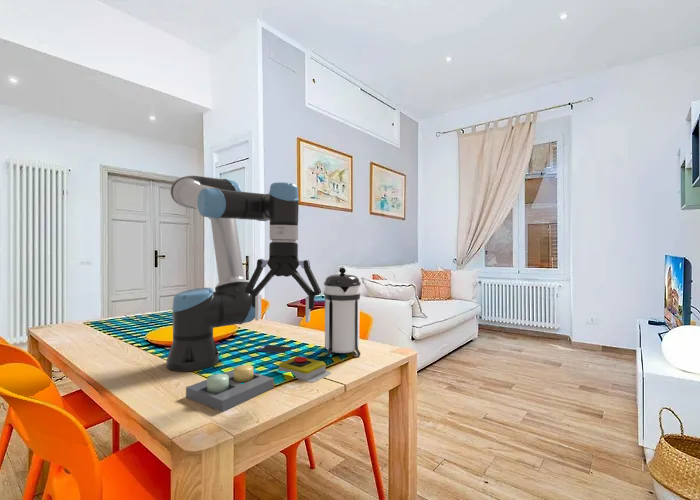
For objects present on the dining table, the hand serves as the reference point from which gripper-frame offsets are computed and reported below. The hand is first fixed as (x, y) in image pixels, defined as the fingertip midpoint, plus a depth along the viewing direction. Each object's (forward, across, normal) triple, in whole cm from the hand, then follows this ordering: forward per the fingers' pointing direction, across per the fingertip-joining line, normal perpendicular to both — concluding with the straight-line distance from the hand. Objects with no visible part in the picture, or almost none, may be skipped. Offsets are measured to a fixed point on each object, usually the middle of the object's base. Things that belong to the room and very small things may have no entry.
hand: (282, 320), depth 96 cm
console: (+18, -12, -6) cm, 22 cm away
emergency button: (+18, +4, +10) cm, 21 cm away
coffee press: (+18, +13, +31) cm, 38 cm away
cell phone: (+19, -10, +30) cm, 37 cm away
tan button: (+16, -10, -3) cm, 18 cm away
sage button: (+15, -14, -10) cm, 23 cm away
